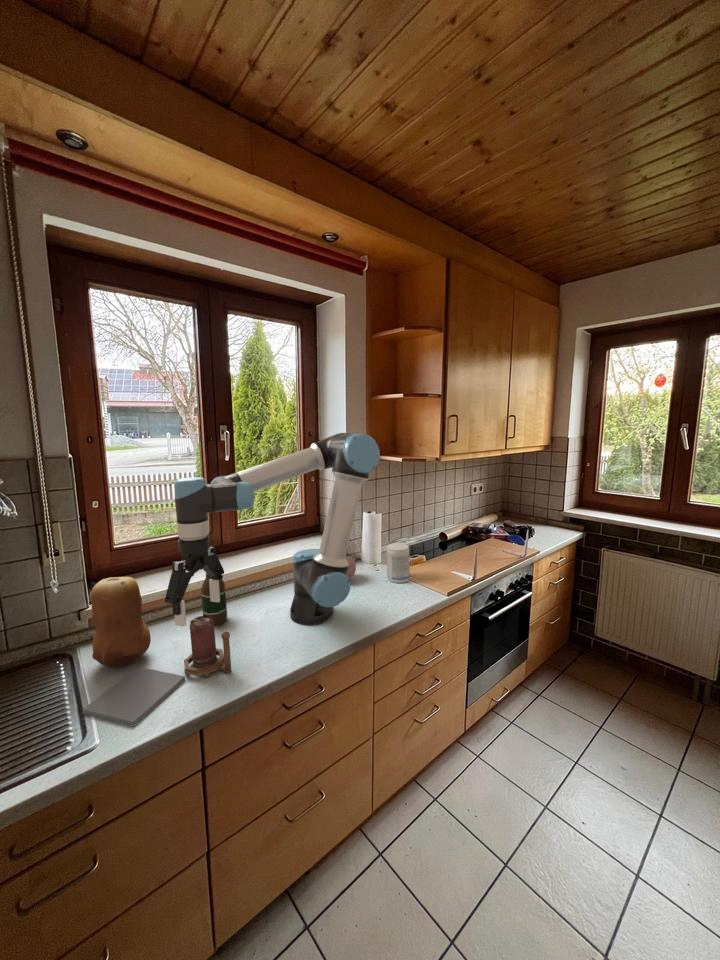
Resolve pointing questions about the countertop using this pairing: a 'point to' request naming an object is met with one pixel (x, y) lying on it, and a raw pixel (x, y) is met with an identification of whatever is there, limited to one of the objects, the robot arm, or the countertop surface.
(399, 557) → the supplement tub
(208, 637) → the can
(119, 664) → the butternut squash
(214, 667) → the ring stand
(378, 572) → the countertop surface
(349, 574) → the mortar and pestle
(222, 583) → the beer bottle
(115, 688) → the plate
